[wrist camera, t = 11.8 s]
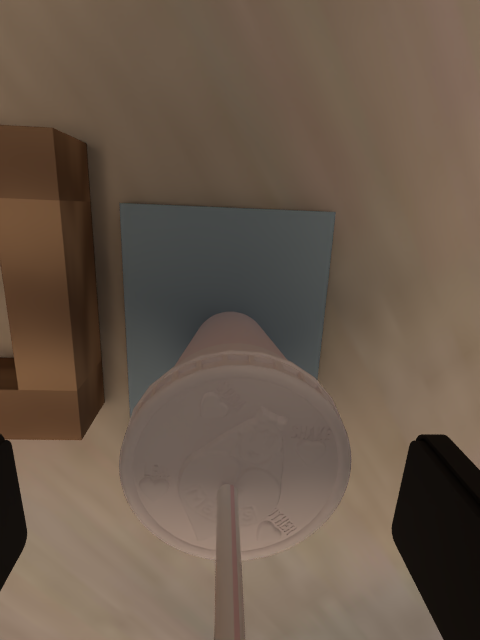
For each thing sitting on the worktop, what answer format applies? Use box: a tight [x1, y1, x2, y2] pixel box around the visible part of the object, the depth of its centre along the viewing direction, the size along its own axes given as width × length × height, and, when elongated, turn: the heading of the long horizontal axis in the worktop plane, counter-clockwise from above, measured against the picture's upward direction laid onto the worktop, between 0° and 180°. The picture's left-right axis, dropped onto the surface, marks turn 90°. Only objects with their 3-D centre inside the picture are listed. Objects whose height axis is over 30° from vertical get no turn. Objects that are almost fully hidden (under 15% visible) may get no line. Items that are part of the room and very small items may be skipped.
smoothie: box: [119, 312, 351, 640], centre depth 13 cm, size 6×6×14 cm
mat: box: [120, 203, 336, 418], centre depth 20 cm, size 14×10×1 cm
